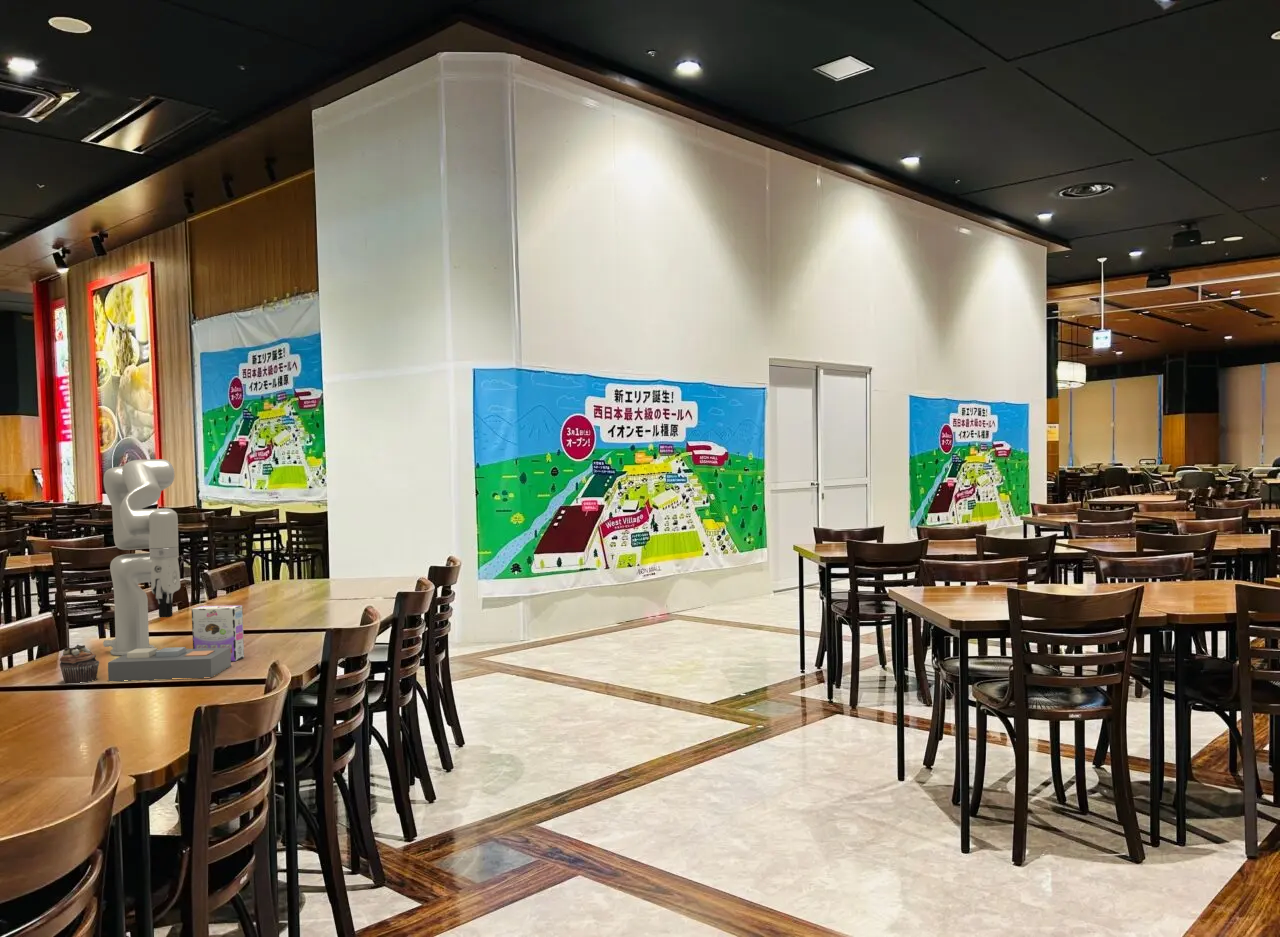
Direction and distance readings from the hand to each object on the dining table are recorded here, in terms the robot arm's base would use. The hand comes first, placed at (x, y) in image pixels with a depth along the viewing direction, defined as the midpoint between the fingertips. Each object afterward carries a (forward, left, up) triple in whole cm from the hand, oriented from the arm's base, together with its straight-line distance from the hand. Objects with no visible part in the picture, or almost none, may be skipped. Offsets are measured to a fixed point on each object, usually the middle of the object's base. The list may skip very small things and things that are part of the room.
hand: (165, 616), depth 281 cm
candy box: (+8, +18, -17) cm, 26 cm away
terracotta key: (+9, 0, -14) cm, 17 cm away
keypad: (+1, 0, -17) cm, 17 cm away
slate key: (+1, 0, -13) cm, 13 cm away
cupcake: (-22, -5, -17) cm, 28 cm away
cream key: (-7, 0, -13) cm, 15 cm away
